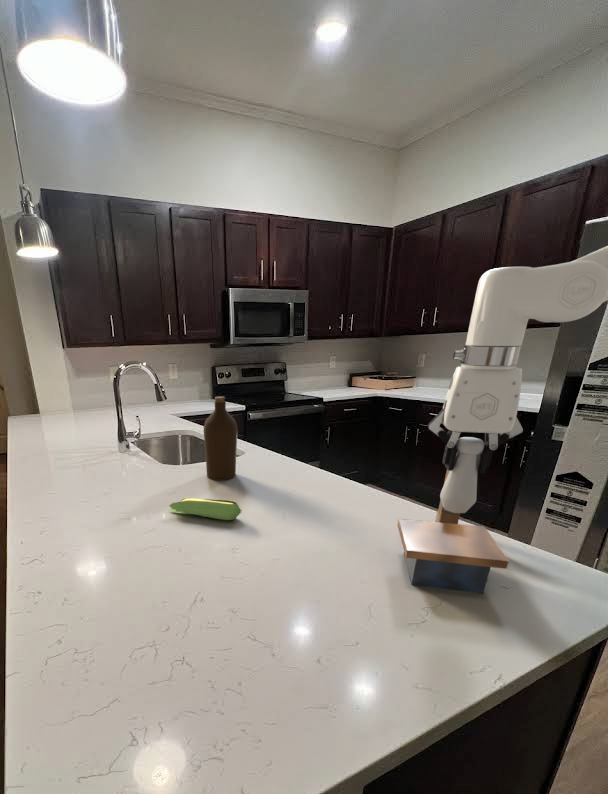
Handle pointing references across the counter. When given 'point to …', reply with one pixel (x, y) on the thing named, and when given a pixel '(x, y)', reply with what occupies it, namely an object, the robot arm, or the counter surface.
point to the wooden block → (446, 512)
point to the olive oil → (220, 442)
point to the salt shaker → (462, 476)
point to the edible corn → (207, 508)
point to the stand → (449, 554)
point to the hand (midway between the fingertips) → (464, 468)
